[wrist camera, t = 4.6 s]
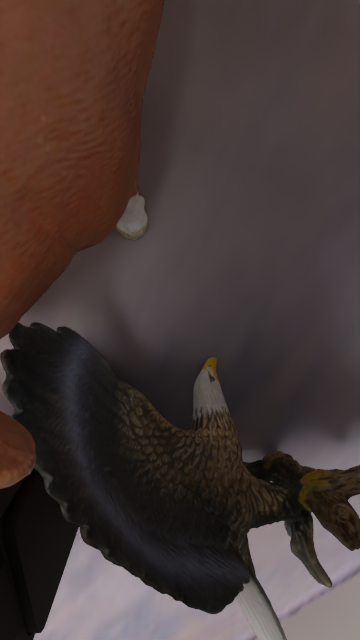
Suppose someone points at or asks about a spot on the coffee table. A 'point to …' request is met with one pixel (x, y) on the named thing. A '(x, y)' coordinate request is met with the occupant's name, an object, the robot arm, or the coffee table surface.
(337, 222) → the coffee table surface
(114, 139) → the bull figurine
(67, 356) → the eagle figurine
